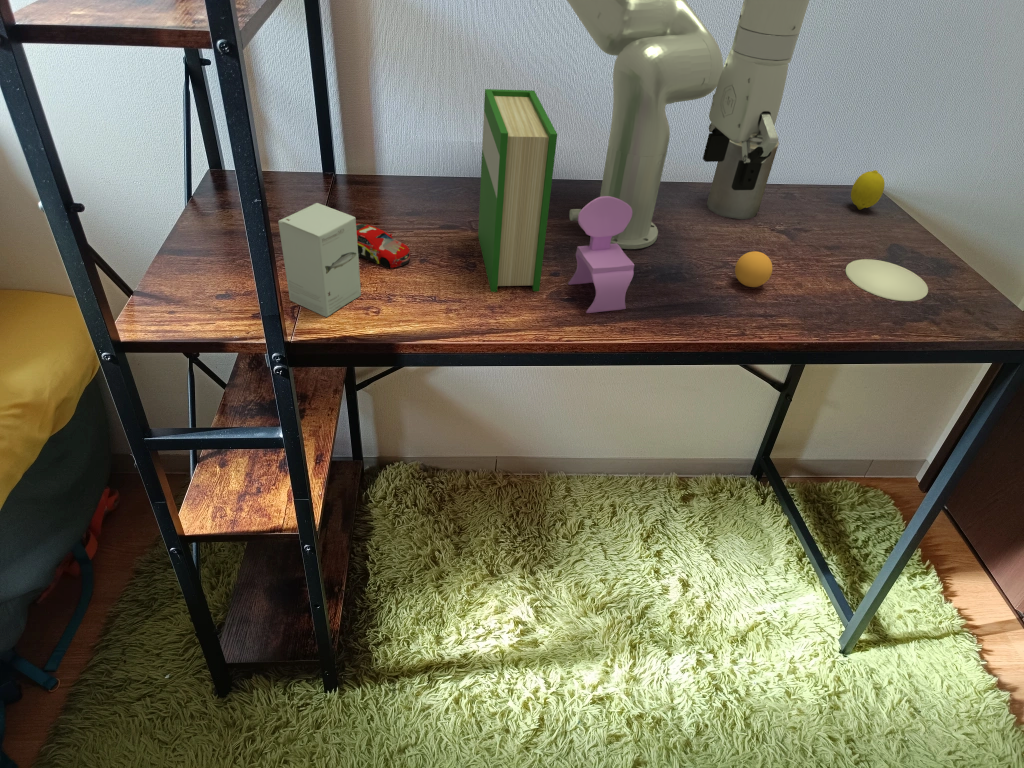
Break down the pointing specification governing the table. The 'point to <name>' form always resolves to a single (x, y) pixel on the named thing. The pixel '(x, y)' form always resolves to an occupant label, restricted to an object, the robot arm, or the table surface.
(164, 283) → the table surface
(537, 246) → the hardback book
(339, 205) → the table surface
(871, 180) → the lemon
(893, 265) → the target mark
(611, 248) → the toy chair
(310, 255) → the supplement box
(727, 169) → the pillar candle
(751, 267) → the ball
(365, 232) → the race car
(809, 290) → the table surface
